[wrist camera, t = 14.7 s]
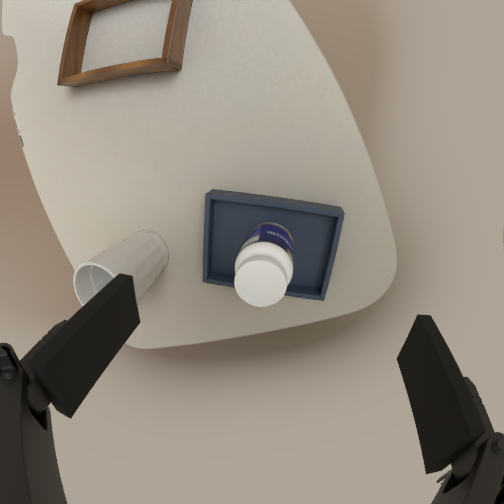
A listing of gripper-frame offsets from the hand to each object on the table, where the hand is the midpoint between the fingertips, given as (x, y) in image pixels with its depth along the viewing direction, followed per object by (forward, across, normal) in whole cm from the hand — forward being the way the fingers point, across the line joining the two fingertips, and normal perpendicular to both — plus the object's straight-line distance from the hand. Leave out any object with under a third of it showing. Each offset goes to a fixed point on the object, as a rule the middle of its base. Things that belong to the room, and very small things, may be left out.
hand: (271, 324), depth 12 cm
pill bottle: (+22, -2, -5) cm, 22 cm away
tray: (+22, -2, -5) cm, 23 cm away
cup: (+22, -18, -8) cm, 30 cm away
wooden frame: (+22, -22, +23) cm, 39 cm away
